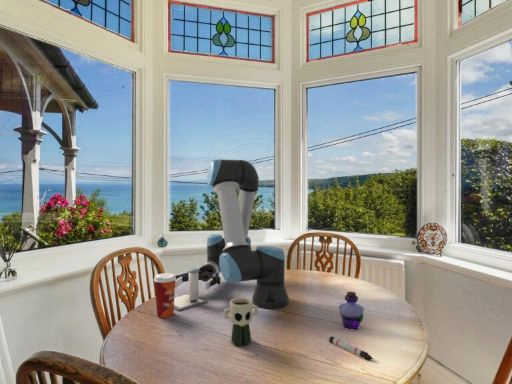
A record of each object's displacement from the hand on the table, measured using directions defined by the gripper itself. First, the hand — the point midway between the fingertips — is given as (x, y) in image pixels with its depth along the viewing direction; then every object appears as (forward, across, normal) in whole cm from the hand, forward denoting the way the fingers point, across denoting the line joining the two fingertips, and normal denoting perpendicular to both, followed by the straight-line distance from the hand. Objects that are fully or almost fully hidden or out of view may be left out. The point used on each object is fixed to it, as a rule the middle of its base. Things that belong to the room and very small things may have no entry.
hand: (190, 285), depth 136 cm
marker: (+25, -61, -9) cm, 66 cm away
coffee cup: (+10, +6, -9) cm, 14 cm away
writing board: (-4, +4, -8) cm, 10 cm away
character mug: (+26, -27, -9) cm, 38 cm away
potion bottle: (+7, -62, -9) cm, 63 cm away
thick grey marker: (-3, 0, -8) cm, 9 cm away
